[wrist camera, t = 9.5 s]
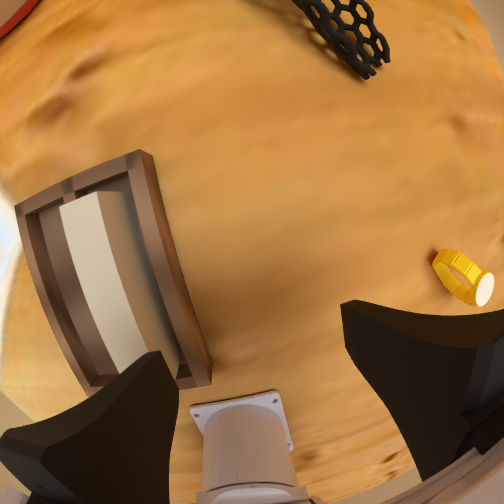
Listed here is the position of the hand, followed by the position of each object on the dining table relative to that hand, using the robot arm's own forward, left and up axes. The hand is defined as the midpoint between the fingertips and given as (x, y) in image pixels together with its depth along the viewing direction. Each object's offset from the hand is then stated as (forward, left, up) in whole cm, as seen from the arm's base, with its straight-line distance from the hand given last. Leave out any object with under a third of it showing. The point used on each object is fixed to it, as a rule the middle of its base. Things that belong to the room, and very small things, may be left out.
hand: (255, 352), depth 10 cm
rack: (+2, +9, -9) cm, 13 cm away
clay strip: (+2, +7, -8) cm, 11 cm away
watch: (-4, -18, -10) cm, 20 cm away
